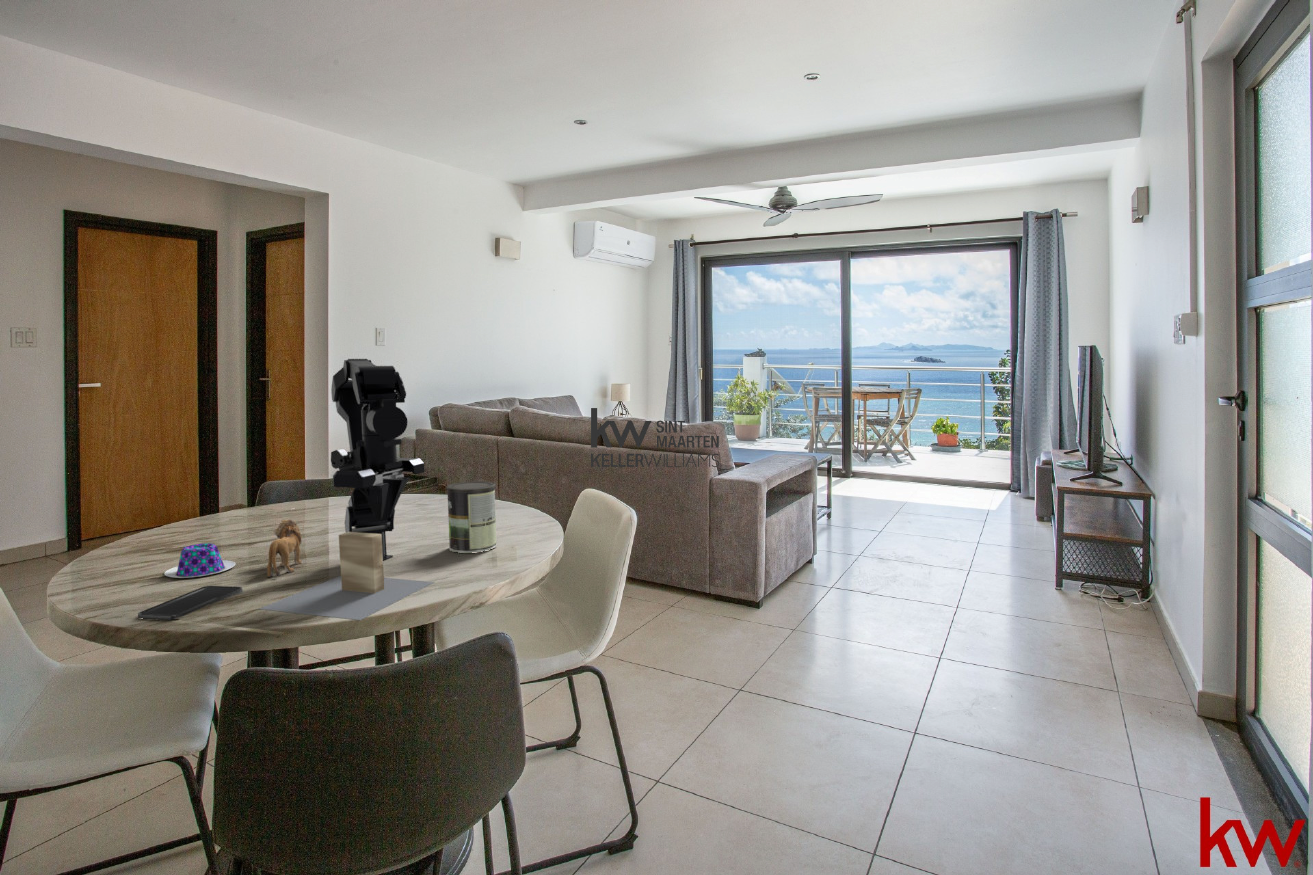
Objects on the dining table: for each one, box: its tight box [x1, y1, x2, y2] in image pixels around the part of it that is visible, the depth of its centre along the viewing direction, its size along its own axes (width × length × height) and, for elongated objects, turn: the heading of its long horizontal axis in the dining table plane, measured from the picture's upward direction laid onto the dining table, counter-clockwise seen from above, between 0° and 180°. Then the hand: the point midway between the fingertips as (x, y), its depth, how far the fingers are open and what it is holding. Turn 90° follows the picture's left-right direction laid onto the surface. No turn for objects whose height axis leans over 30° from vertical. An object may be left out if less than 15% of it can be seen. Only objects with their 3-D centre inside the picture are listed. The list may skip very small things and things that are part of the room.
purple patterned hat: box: [163, 542, 236, 579], centre depth 140 cm, size 12×12×5 cm
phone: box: [137, 585, 243, 622], centre depth 120 cm, size 8×1×15 cm
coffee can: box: [446, 480, 497, 554], centre depth 154 cm, size 10×10×14 cm
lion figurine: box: [266, 519, 302, 578], centre depth 140 cm, size 15×5×9 cm, turn 20°
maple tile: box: [338, 532, 385, 593], centre depth 125 cm, size 2×7×10 cm, turn 73°
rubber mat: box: [258, 575, 435, 621], centre depth 123 cm, size 20×20×1 cm
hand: (383, 517), depth 131 cm, fingers open, 2 cm apart
